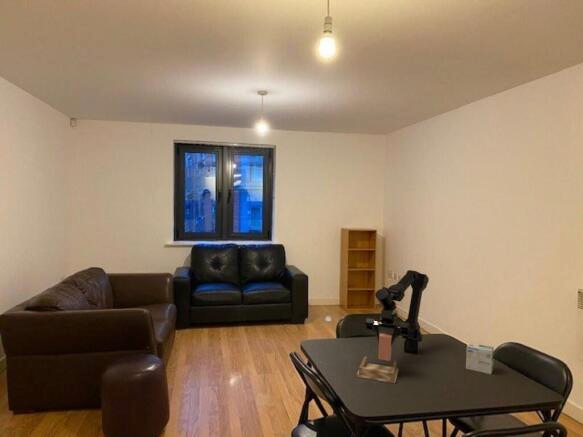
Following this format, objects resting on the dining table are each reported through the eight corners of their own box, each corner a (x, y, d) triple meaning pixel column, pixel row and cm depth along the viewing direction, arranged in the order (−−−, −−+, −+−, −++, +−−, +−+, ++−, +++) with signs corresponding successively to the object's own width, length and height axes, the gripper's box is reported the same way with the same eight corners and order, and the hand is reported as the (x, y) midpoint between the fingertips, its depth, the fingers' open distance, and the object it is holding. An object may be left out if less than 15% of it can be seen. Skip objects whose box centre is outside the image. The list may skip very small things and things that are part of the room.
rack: (398, 370, 177) (398, 361, 177) (395, 383, 164) (395, 373, 164) (362, 364, 183) (362, 355, 182) (356, 376, 169) (356, 367, 169)
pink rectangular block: (391, 357, 173) (392, 334, 173) (390, 360, 169) (391, 337, 169) (379, 355, 175) (380, 333, 174) (378, 359, 171) (379, 335, 170)
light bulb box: (493, 369, 182) (494, 346, 181) (491, 375, 176) (492, 350, 175) (467, 364, 187) (468, 341, 187) (465, 368, 182) (466, 345, 181)
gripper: (366, 299, 178) (361, 331, 168) (410, 304, 172) (407, 338, 162) (368, 313, 186) (363, 344, 176) (410, 318, 180) (407, 350, 170)
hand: (384, 344), depth 170 cm, fingers closed on pink rectangular block, 5 cm apart
